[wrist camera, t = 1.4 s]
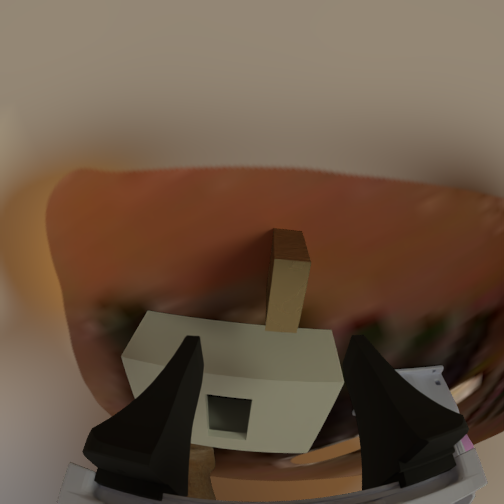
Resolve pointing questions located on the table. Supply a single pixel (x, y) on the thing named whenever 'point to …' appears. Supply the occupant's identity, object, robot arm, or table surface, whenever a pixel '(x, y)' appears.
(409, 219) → the table surface
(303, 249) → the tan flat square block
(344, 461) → the table surface
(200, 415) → the box
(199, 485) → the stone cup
